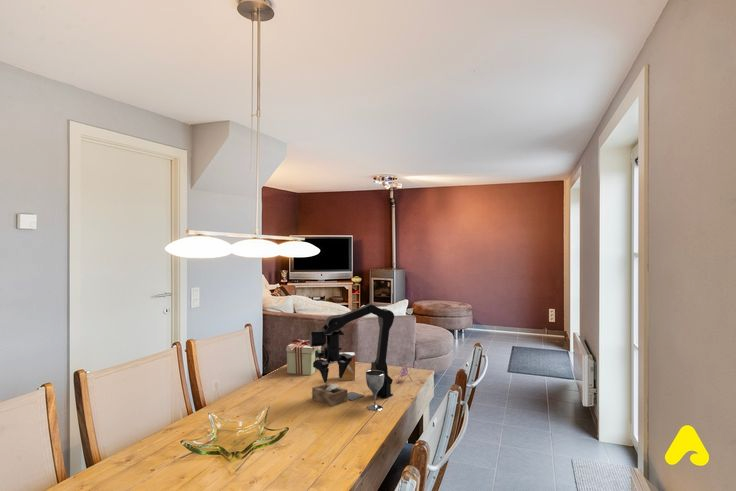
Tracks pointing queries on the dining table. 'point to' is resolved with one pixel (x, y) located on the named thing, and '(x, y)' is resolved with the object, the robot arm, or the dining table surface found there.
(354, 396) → the mat
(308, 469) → the dining table surface
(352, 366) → the small box
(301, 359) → the gift box
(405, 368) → the lily
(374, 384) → the wine glass
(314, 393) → the rectangular frame
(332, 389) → the block
